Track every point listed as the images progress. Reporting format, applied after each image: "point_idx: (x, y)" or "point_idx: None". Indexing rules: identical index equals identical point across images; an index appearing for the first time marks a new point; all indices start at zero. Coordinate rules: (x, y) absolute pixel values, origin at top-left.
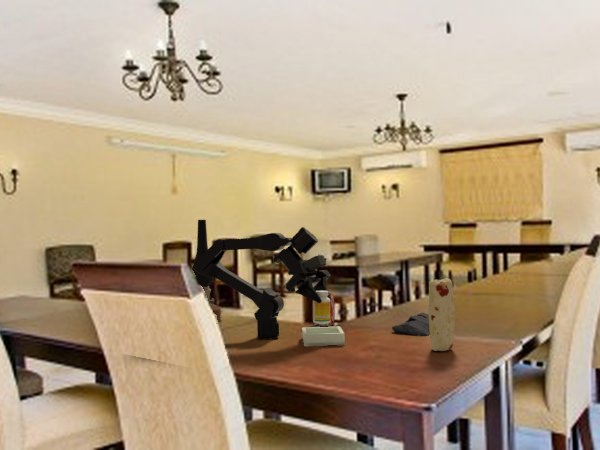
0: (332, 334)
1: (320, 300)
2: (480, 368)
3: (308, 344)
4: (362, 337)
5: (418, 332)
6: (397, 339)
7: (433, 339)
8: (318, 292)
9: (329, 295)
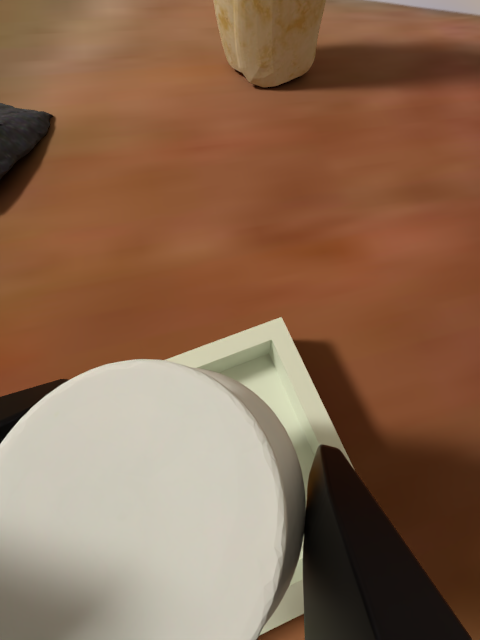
0: (309, 378)
1: (342, 461)
2: (429, 9)
3: None
4: (84, 305)
5: (35, 126)
6: (118, 182)
7: (313, 37)
8: (283, 553)
9: (23, 396)
